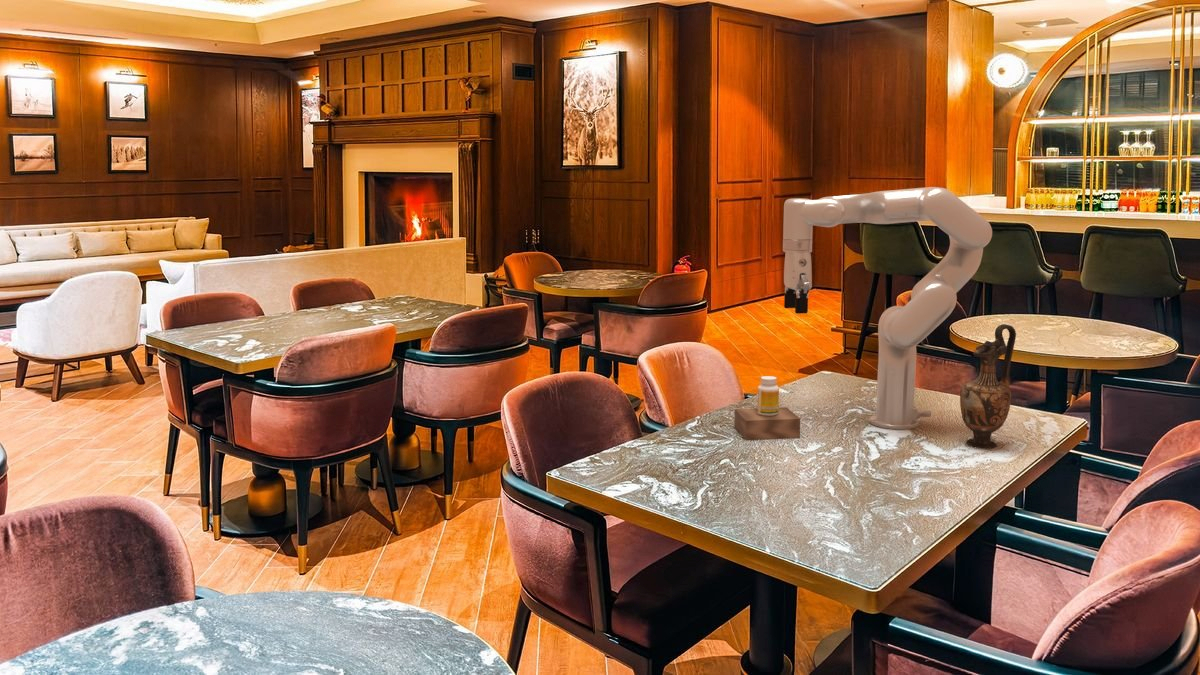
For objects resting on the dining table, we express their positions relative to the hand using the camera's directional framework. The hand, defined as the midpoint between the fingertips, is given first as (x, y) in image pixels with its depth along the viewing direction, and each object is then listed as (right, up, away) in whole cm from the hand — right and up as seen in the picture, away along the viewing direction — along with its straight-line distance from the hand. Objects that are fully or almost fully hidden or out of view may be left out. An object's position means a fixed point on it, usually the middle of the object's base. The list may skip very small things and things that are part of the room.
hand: (795, 310), depth 252 cm
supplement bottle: (-9, -27, -7) cm, 29 cm away
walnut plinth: (-9, -32, -6) cm, 33 cm away
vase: (+43, -34, -18) cm, 57 cm away
